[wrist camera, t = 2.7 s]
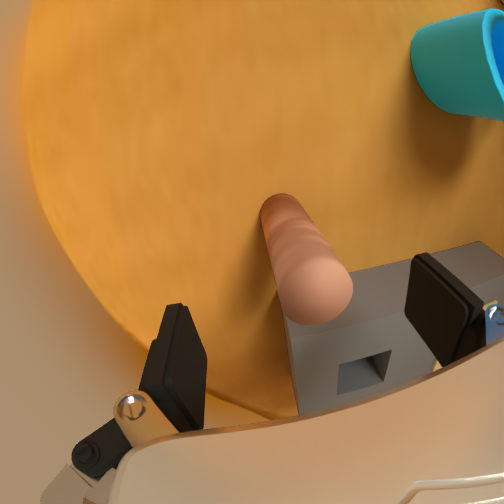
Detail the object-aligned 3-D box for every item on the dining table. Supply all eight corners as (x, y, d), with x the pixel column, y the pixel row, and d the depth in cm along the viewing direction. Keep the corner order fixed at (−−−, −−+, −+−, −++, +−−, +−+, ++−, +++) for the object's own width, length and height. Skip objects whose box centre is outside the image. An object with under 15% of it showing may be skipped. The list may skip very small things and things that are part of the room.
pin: (299, 190, 19) (353, 256, 10) (303, 229, 20) (351, 316, 11) (256, 197, 19) (275, 271, 10) (263, 237, 20) (284, 331, 11)
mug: (425, 118, 17) (501, 130, 9) (396, 23, 13) (463, -4, 6) (503, 110, 16) (563, 123, 8) (484, 34, 12) (543, 30, 5)
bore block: (479, 240, 22) (518, 270, 16) (457, 326, 27) (482, 359, 21) (278, 286, 22) (291, 341, 17) (291, 376, 28) (300, 425, 22)
